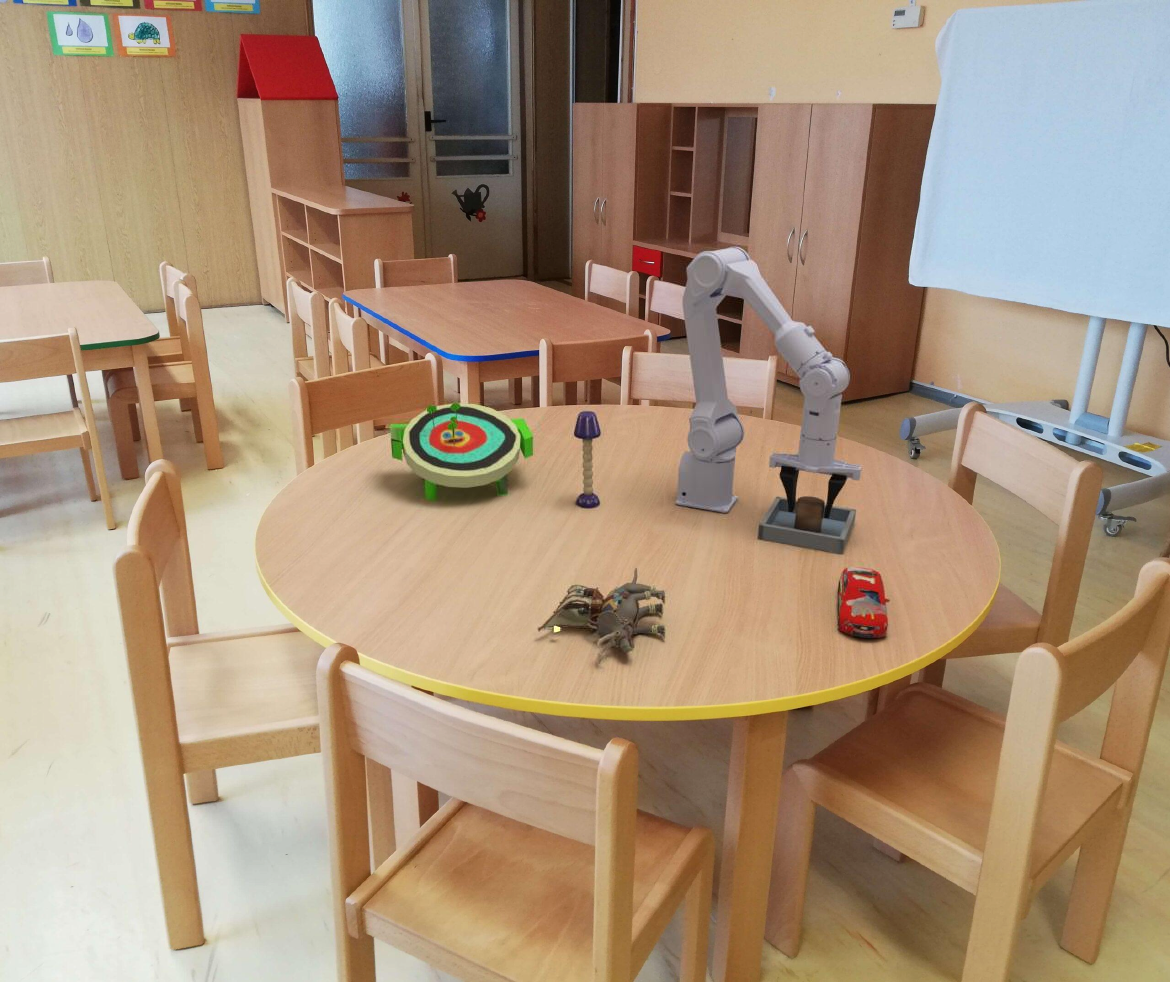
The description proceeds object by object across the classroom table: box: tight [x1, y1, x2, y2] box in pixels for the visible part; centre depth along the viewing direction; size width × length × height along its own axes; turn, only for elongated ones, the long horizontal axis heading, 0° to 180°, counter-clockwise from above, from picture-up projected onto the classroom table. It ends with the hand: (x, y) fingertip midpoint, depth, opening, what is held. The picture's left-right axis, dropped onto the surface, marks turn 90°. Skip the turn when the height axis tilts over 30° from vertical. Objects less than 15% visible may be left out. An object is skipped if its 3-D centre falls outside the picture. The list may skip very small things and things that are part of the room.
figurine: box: [537, 567, 666, 667], centre depth 124 cm, size 20×6×17 cm
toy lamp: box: [573, 410, 602, 509], centre depth 163 cm, size 5×5×17 cm
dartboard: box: [389, 401, 534, 501], centre depth 168 cm, size 25×19×16 cm
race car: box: [837, 566, 891, 639], centre depth 130 cm, size 16×7×5 cm, turn 165°
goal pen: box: [757, 496, 857, 555], centre depth 156 cm, size 14×14×2 cm
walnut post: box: [794, 495, 826, 533], centre depth 156 cm, size 4×4×5 cm
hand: (809, 513), depth 155 cm, fingers open, 5 cm apart
